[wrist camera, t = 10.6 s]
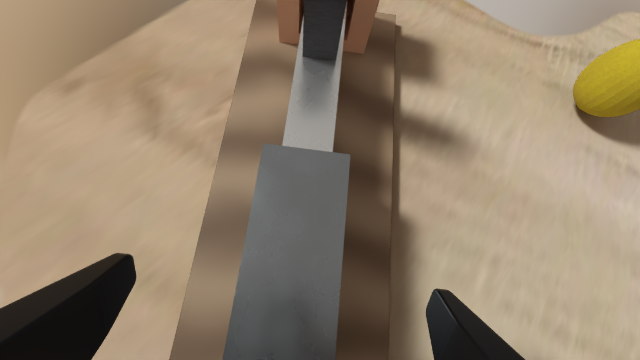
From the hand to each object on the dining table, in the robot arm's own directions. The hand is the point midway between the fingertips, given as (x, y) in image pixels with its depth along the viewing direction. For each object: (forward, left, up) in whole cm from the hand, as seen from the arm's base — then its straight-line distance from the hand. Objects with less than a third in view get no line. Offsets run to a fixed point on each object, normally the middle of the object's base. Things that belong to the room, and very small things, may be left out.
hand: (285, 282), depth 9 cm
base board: (+9, +2, -14) cm, 17 cm away
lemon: (+25, -20, -14) cm, 35 cm away
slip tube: (+11, +3, -11) cm, 16 cm away
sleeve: (+1, 0, -13) cm, 13 cm away
